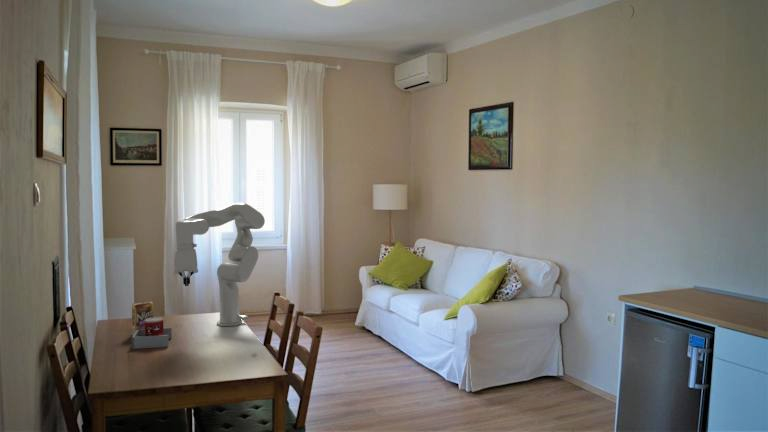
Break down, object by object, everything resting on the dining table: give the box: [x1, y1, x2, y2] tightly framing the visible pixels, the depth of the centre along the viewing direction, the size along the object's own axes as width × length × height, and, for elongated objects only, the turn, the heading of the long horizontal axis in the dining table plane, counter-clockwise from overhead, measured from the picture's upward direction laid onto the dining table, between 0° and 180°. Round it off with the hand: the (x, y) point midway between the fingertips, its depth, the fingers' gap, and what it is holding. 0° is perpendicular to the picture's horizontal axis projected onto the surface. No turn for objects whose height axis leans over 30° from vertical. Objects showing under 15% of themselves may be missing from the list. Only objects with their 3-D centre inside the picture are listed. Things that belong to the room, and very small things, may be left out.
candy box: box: [131, 301, 154, 336], centre depth 281 cm, size 9×4×15 cm, turn 134°
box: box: [131, 327, 173, 350], centre depth 265 cm, size 15×15×5 cm
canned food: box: [145, 316, 164, 336], centre depth 265 cm, size 8×8×11 cm
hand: (186, 285), depth 276 cm, fingers closed
